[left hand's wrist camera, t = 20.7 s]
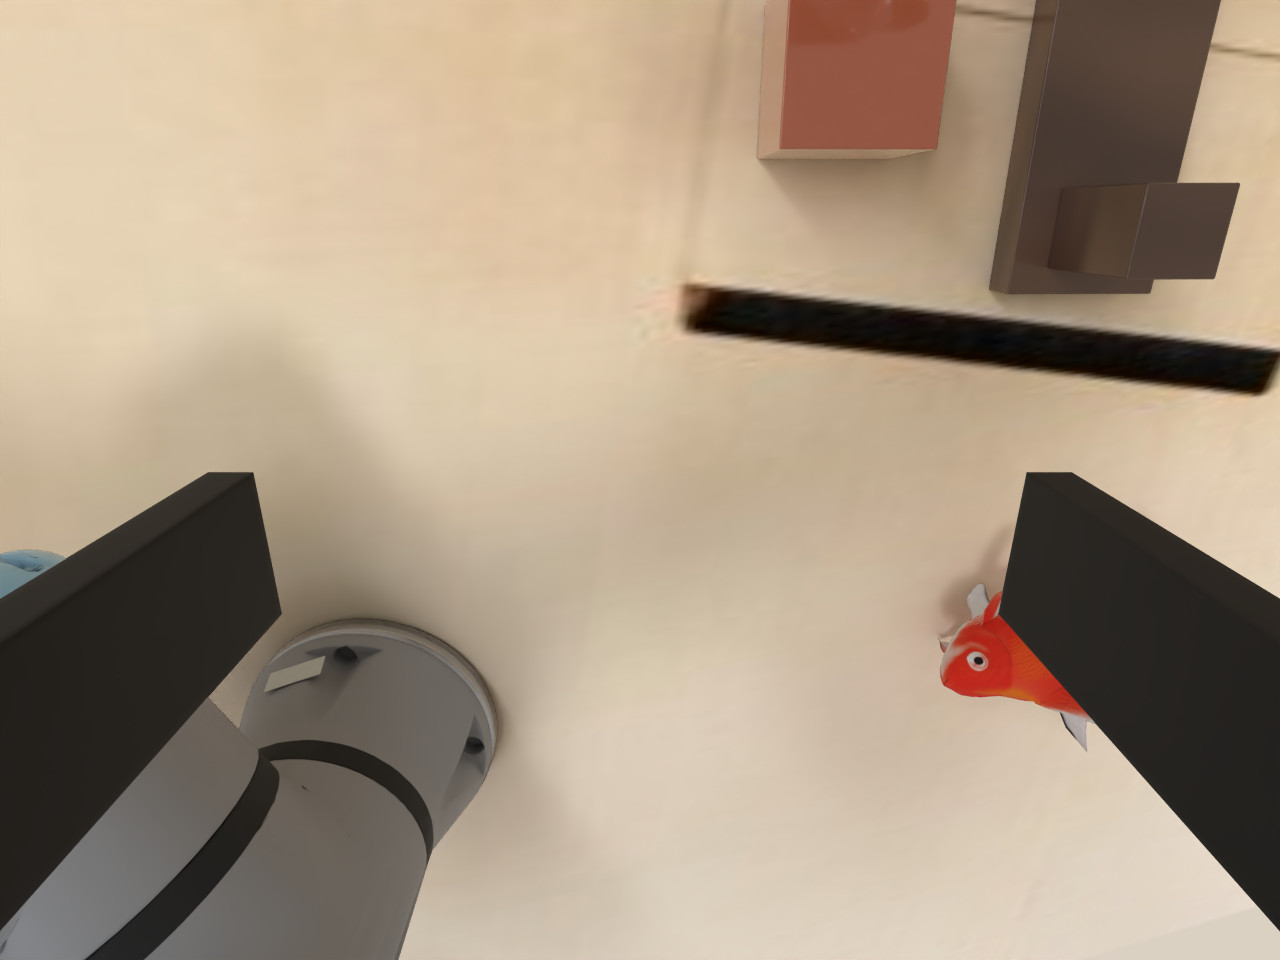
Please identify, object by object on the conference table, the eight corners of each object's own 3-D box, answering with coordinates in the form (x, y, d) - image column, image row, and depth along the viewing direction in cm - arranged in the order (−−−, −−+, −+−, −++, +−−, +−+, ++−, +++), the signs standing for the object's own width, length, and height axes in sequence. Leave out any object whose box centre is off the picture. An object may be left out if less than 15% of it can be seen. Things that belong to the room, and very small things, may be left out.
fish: (981, 506, 36) (1135, 680, 29) (1156, 503, 43) (1311, 642, 37) (870, 634, 43) (976, 799, 36) (1038, 613, 50) (1152, 747, 43)
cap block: (889, 159, 35) (937, 149, 29) (756, 159, 35) (779, 149, 29) (906, 4, 32) (962, -39, 27) (764, 4, 32) (791, -39, 27)
